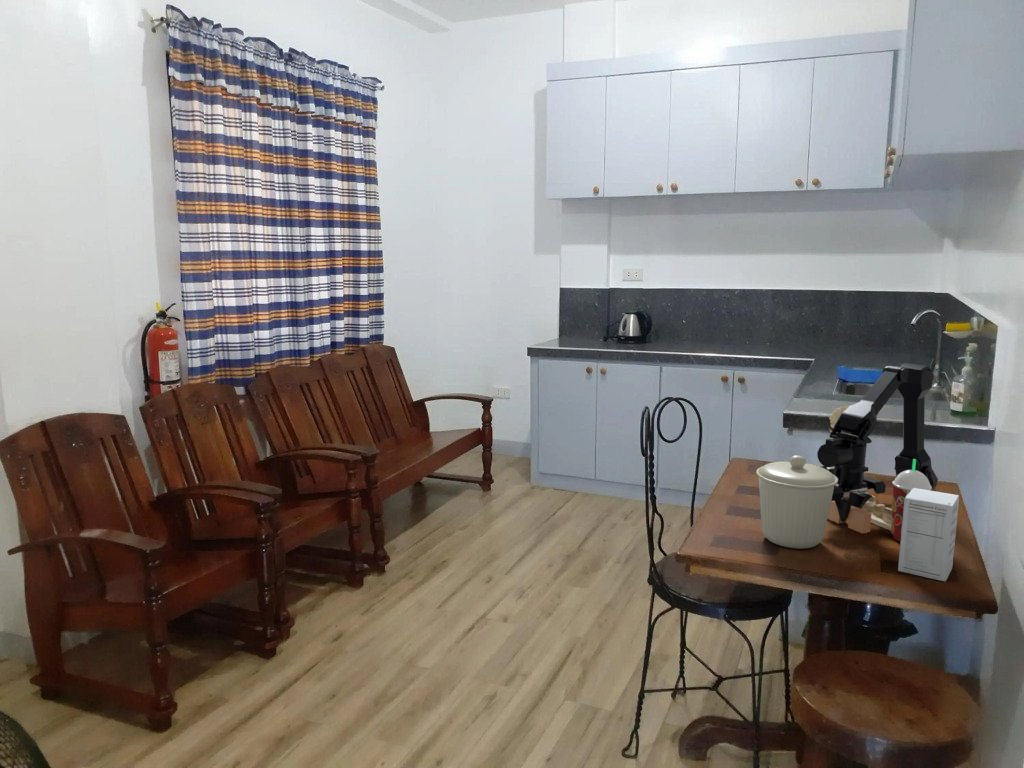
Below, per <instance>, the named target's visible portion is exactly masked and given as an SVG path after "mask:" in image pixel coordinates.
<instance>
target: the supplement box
mask: <svg viewBox="0 0 1024 768" xmlns="http://www.w3.org/2000/svg"><path fill="white" fill-rule="evenodd" d="M959 503H960V495H959V494H953V493H947V492H941V491H934V490H931V491H930V490H924V489H918V488H913V489H912V490H911V491H910V492H909V494H908V495H907V496H906V497H905V500H904V510H903V521H902V529H901V542H900V546H899V553H898V554H899V556H898V564H897V565H898V567H897V571H898V572H901V573H906V574H911V575H915V576H919V577H923V578H928V579H932V580H935V581H936V580H937V581H941V582H946V581H948V578H949V576H950V573H951V572H952V570H953V565H954V556H955V555H954V554H955V543H956V534H957V533H956V532H957V522H958V516H959V515H958V514H959V505H960V504H959Z"/></svg>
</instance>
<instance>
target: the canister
mask: <svg viewBox="0 0 1024 768" xmlns="http://www.w3.org/2000/svg"><path fill="white" fill-rule="evenodd" d="M806 462H807V461H806V458H805V457H803V455H799V454H795V455H792V456H791V457H789V461H775V462H769V463H766V464H765V465H762V466H760V467H758V468H757V469H756V472H755V473H756V475H757V477H758V486H759V488H758V490H759V491H758V492H759V505H760V506H759V507H760V511H759V512H760V521H761V530H762V532H763V535H764V537H765V538H766V539H767V540H768V541H769V542H771V543H773V544H774V545H777V546H781V547H785V548H788V549H810V548H813V547H816V546H817V545H819V544H820V543H821V541H822V540H823V538H824V535H825V530H826V527H827V522H828V520H829V519H828V514H829V510H830V505H831V500H832V495H833V490H834V485H836V484H837V483H838V478H837V477H836V476H835V475H834V474H832V473H831V472H830V471H828V470H826V469H824V468H822V467H821V466H818V465H815V464H811V463H806Z"/></svg>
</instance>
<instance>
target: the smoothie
mask: <svg viewBox="0 0 1024 768" xmlns="http://www.w3.org/2000/svg"><path fill="white" fill-rule="evenodd" d="M915 466H916V459H913V465H912V470H906V471H903V472H901V473H900V474H899V475H898V476H897V477H896V476H895V479H894V480H893V481H892V483H891V485H892V494H891V495H892V496H891V498H892V499H891V509H892V521H891V531H890V533H891V534H892V537H893V539H894V540H896V541H898V542H900V543H901V529H902V521H903V510H904V500H905V497H906V496H907V495H908V494H909V492H910V491H911V490H912V489H913V488H918V489H924V490H930V491H932V490H933V489H932V486H931V485H930V483H929V480H928V479H927V477H926V476H925V475H924V474H923V473H921V472H919V471H917V470H915Z"/></svg>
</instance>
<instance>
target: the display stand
mask: <svg viewBox="0 0 1024 768" xmlns="http://www.w3.org/2000/svg"><path fill="white" fill-rule="evenodd" d="M868 494H869V493H868ZM869 495H872V494H869ZM876 499H877V497H876V496H875V495H872V498H869V500H868V501H867V502H866V503H865V505H864V506H863V507H862V509H863V510H865V511H868V512H870V513H872V514H871V524H872V525H876V526H878V527H881V528H883V529H885V530H889V531H890V532H891V521H892V508H891V507H886V504H884V503H878V504H877V503H876V501H877V500H876Z"/></svg>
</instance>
